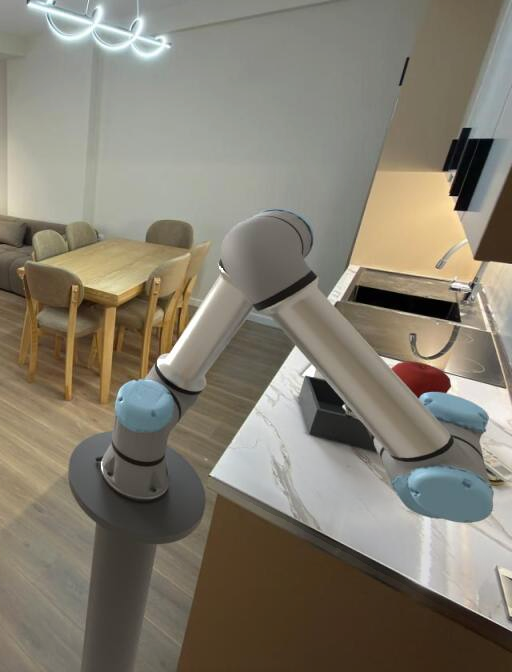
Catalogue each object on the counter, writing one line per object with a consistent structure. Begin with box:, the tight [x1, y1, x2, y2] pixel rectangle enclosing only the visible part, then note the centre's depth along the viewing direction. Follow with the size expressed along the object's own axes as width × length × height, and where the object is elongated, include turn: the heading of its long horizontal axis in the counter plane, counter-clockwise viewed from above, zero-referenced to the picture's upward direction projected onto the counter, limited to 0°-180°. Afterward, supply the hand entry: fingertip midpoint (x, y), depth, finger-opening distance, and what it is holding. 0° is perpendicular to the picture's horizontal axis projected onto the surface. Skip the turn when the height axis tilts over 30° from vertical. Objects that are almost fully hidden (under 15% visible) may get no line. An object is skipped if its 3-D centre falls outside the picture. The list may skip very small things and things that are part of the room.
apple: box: [390, 360, 452, 399], centre depth 112 cm, size 12×12×13 cm
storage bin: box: [298, 375, 378, 453], centre depth 105 cm, size 18×18×8 cm
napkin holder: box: [301, 364, 324, 379], centre depth 125 cm, size 15×11×6 cm
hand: (364, 380), depth 94 cm, fingers closed on flask, 3 cm apart
